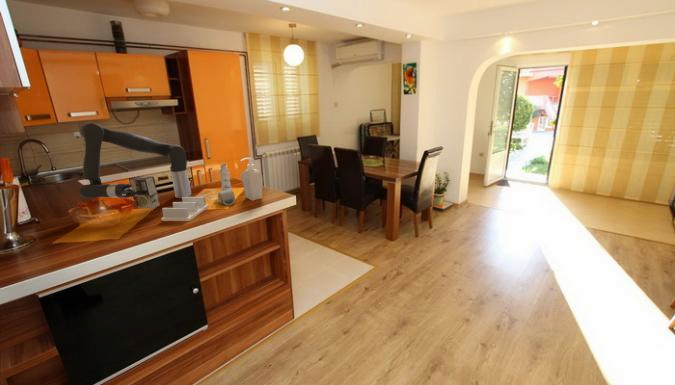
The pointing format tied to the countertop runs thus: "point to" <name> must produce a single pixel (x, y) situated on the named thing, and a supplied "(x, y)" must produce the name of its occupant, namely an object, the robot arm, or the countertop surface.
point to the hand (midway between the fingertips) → (149, 190)
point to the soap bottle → (252, 181)
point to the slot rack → (185, 209)
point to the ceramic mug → (226, 197)
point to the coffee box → (149, 187)
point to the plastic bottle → (225, 178)
